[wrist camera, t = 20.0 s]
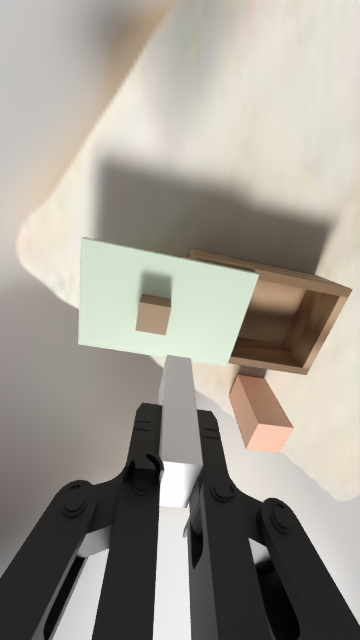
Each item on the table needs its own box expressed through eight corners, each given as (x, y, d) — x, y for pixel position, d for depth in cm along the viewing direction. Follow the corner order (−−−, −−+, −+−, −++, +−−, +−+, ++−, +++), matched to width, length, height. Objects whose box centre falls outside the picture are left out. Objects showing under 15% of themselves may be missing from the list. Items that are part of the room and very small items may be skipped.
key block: (237, 374, 38) (258, 423, 29) (264, 378, 39) (293, 428, 30) (228, 396, 40) (245, 449, 31) (255, 400, 41) (279, 452, 32)
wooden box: (190, 248, 29) (195, 256, 23) (315, 274, 31) (352, 289, 25) (172, 329, 34) (173, 354, 28) (282, 347, 36) (306, 375, 30)
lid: (84, 237, 21) (69, 240, 18) (255, 272, 23) (269, 281, 20) (81, 339, 26) (69, 356, 23) (224, 361, 28) (231, 380, 25)
